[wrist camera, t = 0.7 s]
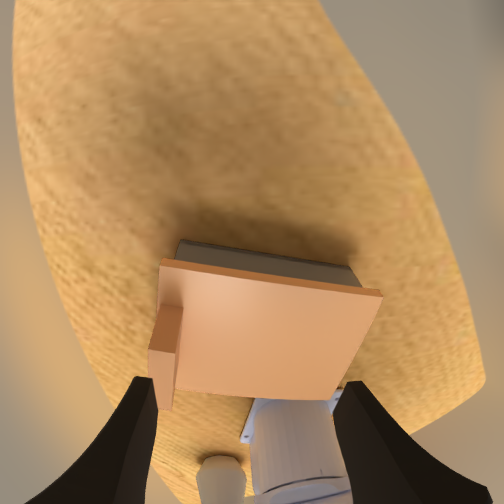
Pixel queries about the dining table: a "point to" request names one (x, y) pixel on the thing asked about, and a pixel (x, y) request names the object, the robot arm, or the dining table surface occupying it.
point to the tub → (265, 263)
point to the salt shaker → (221, 481)
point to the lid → (253, 333)
